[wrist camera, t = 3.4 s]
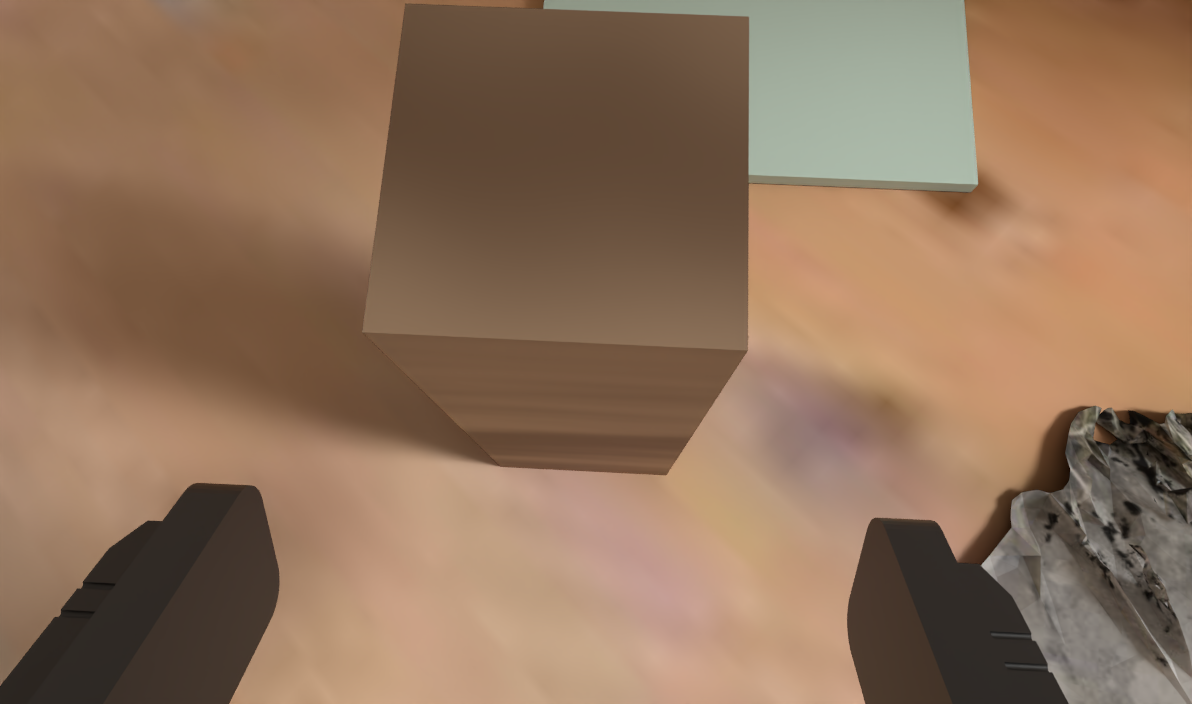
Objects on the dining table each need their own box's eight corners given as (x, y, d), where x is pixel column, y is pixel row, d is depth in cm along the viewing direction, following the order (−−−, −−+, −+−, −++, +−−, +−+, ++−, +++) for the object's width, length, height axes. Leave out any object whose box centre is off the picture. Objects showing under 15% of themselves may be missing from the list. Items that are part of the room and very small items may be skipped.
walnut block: (666, 474, 22) (748, 351, 9) (500, 466, 22) (361, 332, 9) (671, 316, 23) (749, 16, 11) (513, 309, 23) (405, 2, 11)
